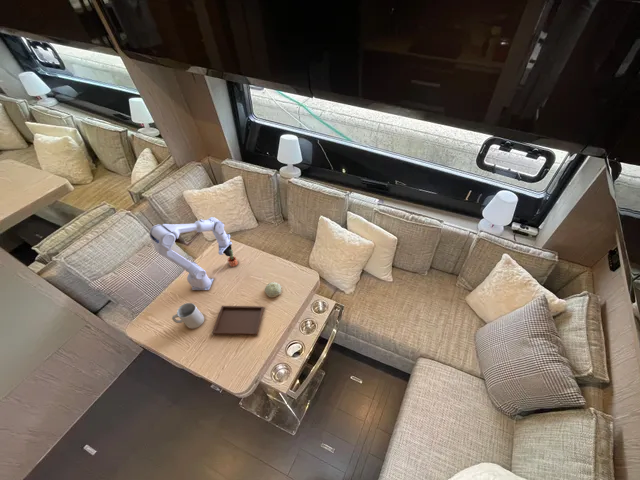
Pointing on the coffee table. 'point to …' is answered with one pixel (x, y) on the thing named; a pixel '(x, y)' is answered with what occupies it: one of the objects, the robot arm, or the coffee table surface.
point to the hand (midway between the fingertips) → (229, 254)
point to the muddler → (231, 254)
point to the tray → (238, 320)
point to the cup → (232, 261)
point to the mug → (189, 315)
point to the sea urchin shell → (273, 289)
